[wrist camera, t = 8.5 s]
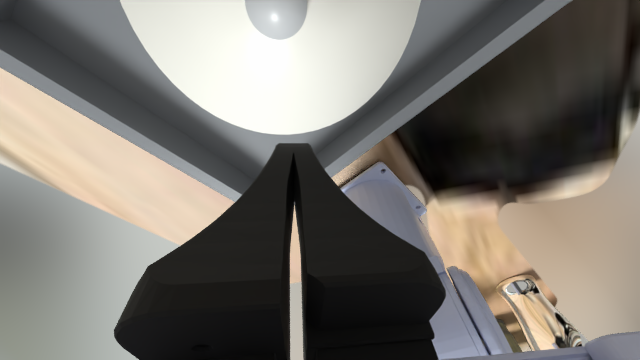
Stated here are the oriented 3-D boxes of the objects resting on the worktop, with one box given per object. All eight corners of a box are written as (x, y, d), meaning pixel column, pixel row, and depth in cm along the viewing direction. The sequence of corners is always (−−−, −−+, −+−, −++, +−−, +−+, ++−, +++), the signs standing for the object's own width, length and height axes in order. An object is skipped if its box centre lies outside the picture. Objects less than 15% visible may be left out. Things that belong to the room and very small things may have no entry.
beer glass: (511, 295, 45) (585, 404, 34) (483, 291, 43) (553, 406, 32) (545, 275, 41) (642, 392, 30) (517, 270, 39) (610, 393, 28)
